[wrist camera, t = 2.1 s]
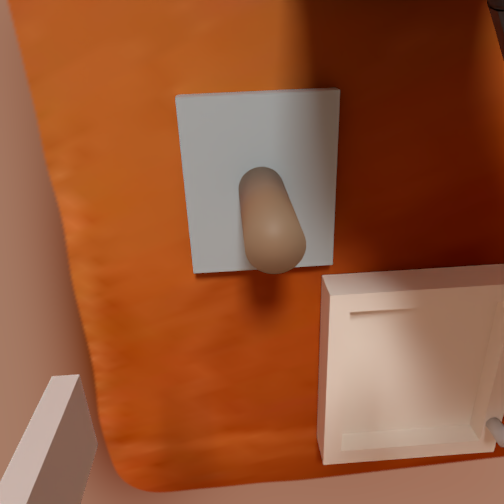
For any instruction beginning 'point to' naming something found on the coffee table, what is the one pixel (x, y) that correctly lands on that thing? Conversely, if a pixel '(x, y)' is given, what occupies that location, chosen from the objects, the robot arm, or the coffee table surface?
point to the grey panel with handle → (260, 178)
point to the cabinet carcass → (411, 363)
